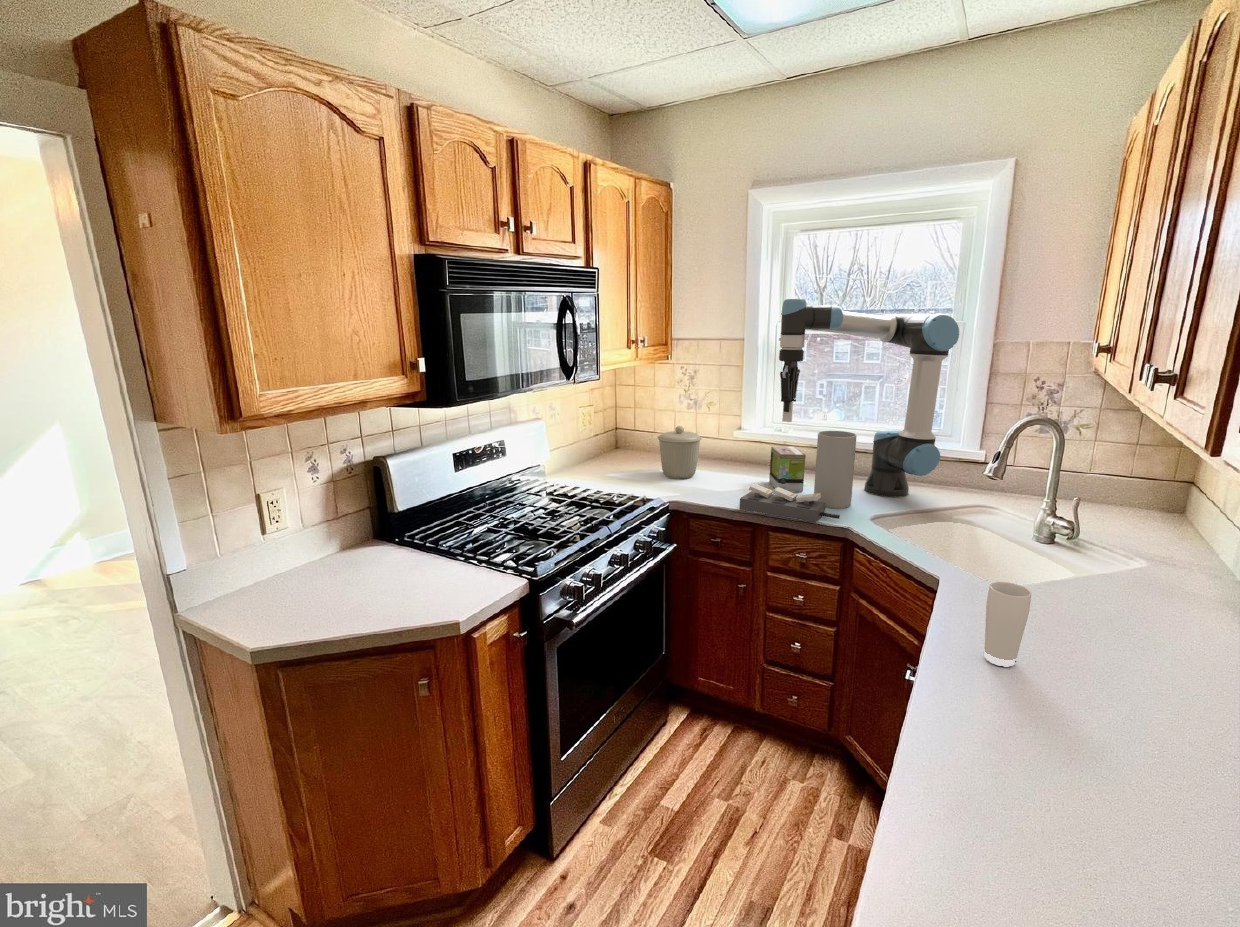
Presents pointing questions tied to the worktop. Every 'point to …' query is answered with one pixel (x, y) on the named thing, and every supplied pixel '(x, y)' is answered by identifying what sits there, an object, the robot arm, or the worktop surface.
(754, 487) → the rocker
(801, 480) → the tea box
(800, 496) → the rocker
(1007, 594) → the drinking glass
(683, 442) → the canister
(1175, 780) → the worktop surface
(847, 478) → the cylinder vase
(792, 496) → the rocker
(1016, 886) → the worktop surface
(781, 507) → the power strip
